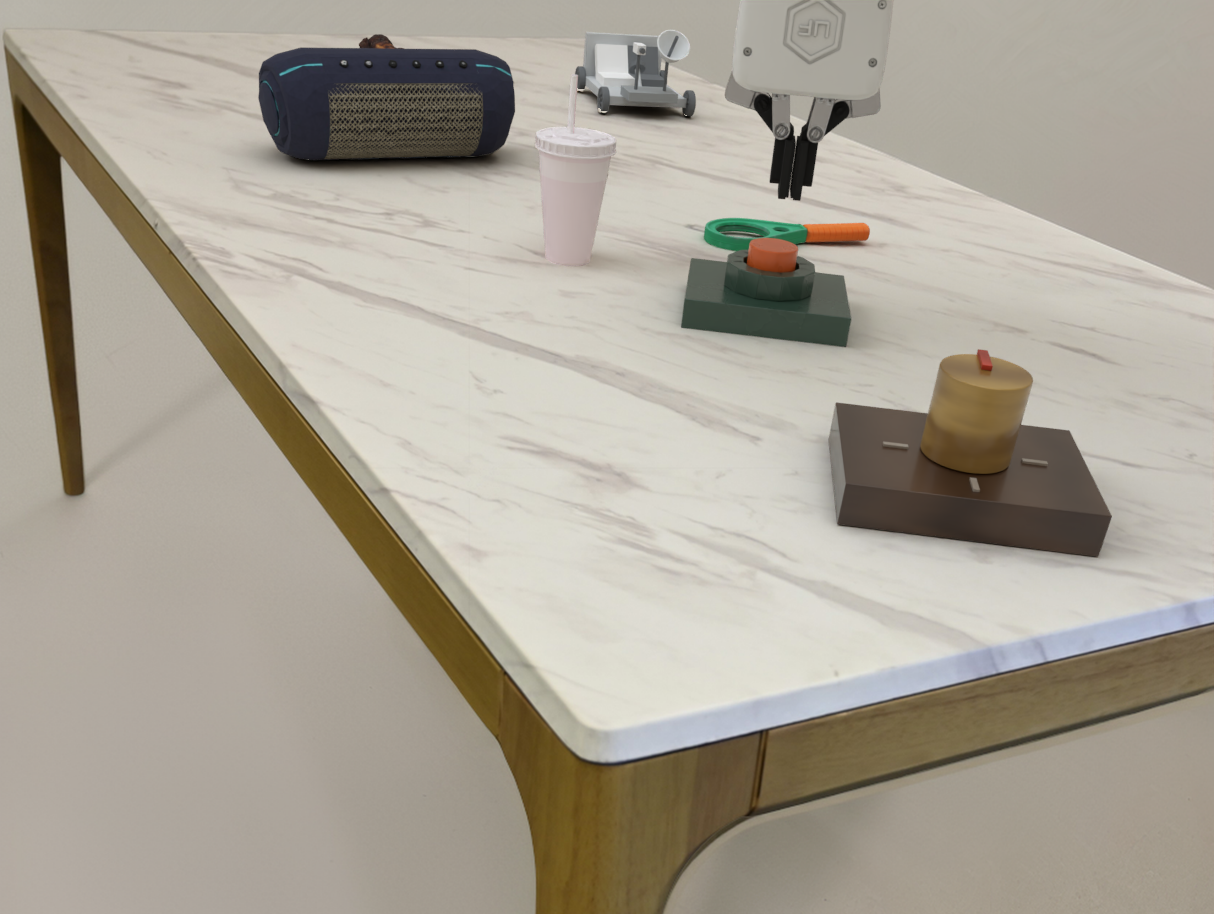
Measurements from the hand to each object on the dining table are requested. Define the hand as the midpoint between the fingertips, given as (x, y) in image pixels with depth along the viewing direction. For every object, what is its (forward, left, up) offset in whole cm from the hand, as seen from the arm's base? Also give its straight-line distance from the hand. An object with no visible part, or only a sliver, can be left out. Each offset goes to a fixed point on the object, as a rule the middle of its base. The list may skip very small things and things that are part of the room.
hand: (788, 194), depth 91 cm
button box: (0, 0, -9) cm, 9 cm away
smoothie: (+16, -8, -9) cm, 21 cm away
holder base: (-11, +27, -9) cm, 30 cm away
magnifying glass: (-2, -20, -9) cm, 22 cm away
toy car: (+16, -72, -9) cm, 75 cm away
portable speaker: (+37, -34, -9) cm, 52 cm away
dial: (-11, +27, -7) cm, 30 cm away
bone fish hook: (+43, -74, -9) cm, 86 cm away
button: (0, 0, -6) cm, 6 cm away
